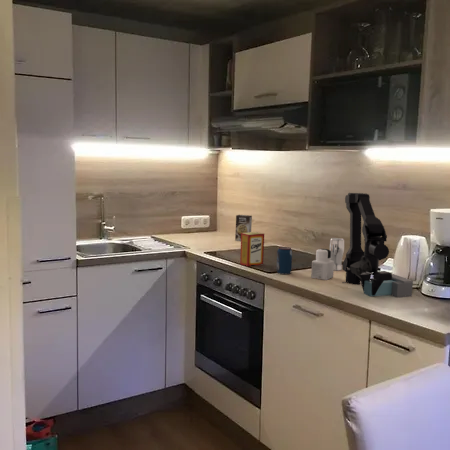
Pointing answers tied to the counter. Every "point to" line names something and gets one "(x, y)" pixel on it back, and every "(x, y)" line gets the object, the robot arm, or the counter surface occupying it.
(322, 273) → the container
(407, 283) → the header
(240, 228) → the coffee box
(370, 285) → the teal rectangular block
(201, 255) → the counter surface
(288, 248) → the soda can
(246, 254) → the baking soda box
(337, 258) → the beer glass
